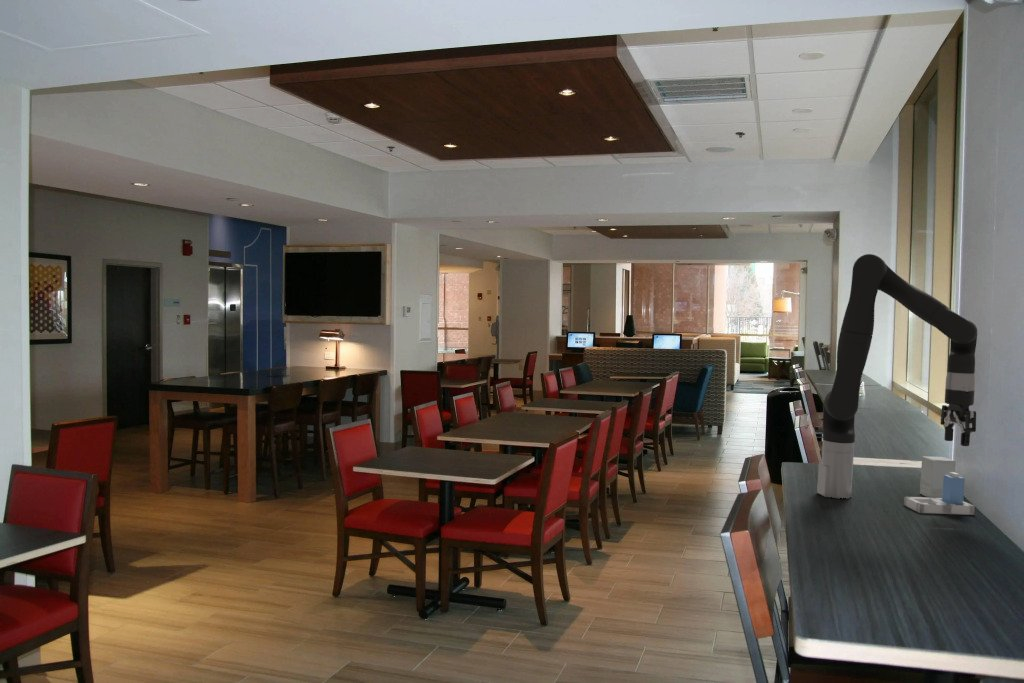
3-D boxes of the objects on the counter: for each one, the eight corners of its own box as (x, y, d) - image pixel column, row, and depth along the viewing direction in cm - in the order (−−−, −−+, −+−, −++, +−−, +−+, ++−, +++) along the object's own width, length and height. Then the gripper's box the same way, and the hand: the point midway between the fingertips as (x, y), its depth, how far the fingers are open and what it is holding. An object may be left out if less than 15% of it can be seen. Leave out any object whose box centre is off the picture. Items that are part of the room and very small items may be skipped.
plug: (948, 511, 245) (951, 474, 244) (941, 508, 249) (943, 471, 248) (962, 512, 245) (964, 474, 244) (954, 508, 249) (957, 471, 248)
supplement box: (953, 501, 261) (956, 461, 260) (929, 500, 261) (932, 460, 261) (942, 495, 269) (944, 456, 268) (918, 494, 269) (921, 455, 268)
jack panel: (919, 514, 242) (919, 503, 242) (903, 506, 251) (904, 496, 251) (973, 516, 242) (974, 505, 242) (956, 508, 251) (957, 497, 251)
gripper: (934, 385, 252) (931, 439, 253) (961, 390, 238) (957, 447, 239) (958, 386, 252) (955, 439, 253) (987, 391, 238) (983, 448, 239)
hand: (956, 443), depth 246 cm, fingers open, 8 cm apart
